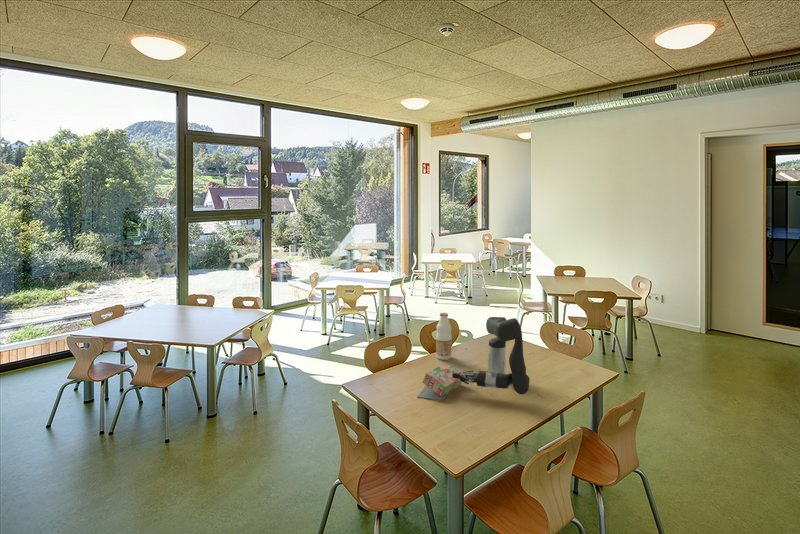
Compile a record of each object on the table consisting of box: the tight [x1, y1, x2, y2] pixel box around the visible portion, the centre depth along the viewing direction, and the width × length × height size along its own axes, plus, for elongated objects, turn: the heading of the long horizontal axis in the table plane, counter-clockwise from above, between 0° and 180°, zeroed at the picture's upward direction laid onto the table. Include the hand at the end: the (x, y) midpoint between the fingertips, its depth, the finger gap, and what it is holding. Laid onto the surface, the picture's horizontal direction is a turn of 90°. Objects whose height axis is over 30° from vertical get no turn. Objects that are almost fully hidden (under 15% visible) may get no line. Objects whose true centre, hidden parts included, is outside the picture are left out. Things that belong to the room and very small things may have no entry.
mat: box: [417, 385, 449, 402], centre depth 236 cm, size 13×24×1 cm, turn 161°
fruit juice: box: [435, 312, 453, 361], centre depth 283 cm, size 9×9×28 cm
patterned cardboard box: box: [422, 365, 463, 396], centre depth 237 cm, size 21×6×12 cm
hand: (452, 375), depth 232 cm, fingers closed
